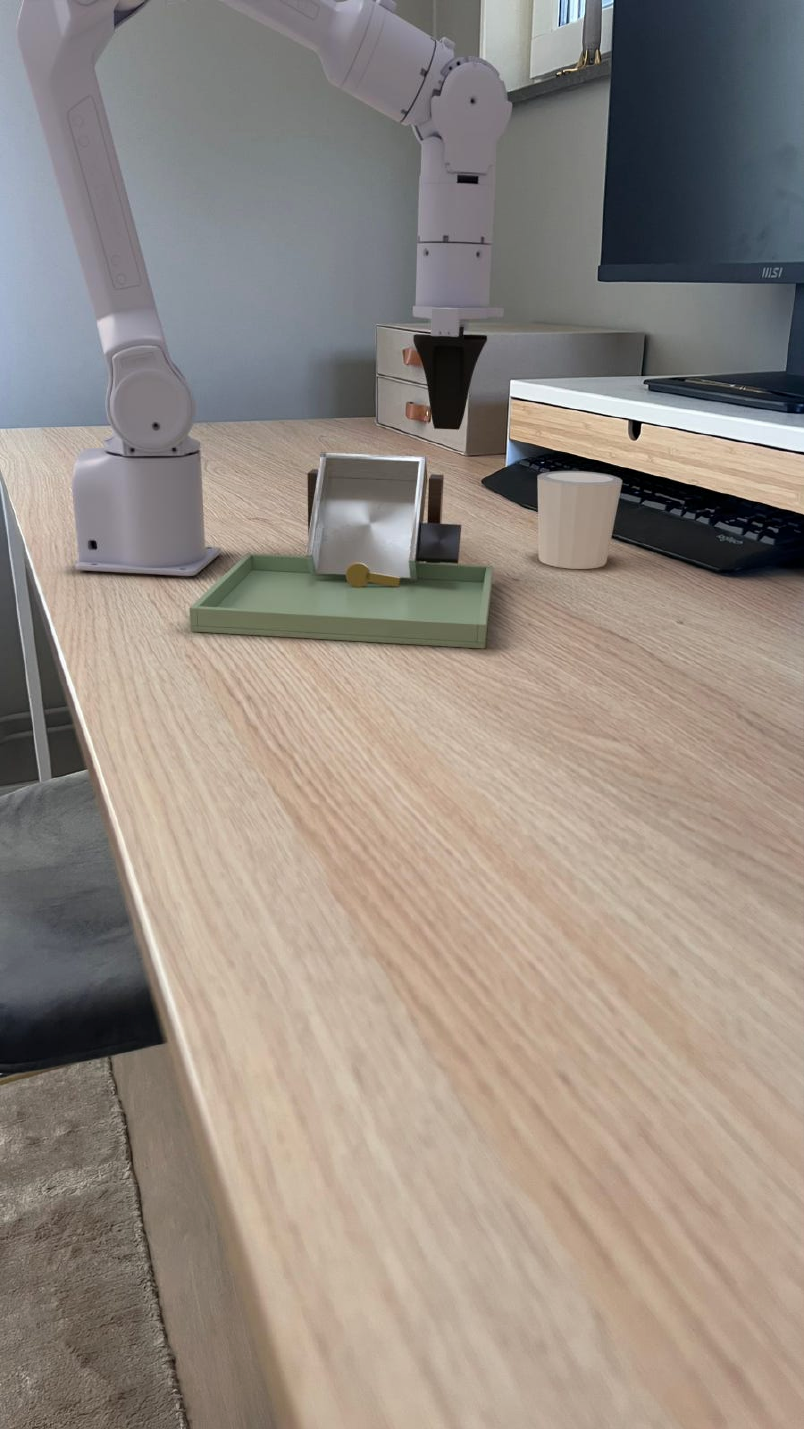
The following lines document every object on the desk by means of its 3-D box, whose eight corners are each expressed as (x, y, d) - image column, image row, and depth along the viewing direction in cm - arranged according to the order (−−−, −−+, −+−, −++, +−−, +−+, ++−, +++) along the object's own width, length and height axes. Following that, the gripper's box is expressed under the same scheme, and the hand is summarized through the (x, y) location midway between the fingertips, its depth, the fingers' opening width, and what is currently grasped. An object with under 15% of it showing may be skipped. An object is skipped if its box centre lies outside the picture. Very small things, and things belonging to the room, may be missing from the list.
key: (343, 583, 76) (344, 585, 76) (348, 560, 76) (348, 561, 75) (396, 593, 77) (397, 594, 76) (401, 569, 76) (402, 571, 76)
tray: (190, 631, 67) (189, 607, 66) (247, 573, 80) (246, 553, 80) (484, 648, 65) (486, 624, 64) (491, 586, 79) (492, 565, 78)
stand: (308, 568, 82) (307, 473, 79) (312, 562, 84) (312, 468, 81) (437, 575, 81) (441, 479, 79) (439, 568, 83) (443, 474, 80)
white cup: (613, 573, 83) (622, 486, 80) (527, 567, 84) (534, 480, 82) (614, 554, 89) (622, 472, 87) (534, 548, 91) (540, 467, 88)
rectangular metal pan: (311, 575, 77) (305, 555, 75) (326, 471, 81) (321, 447, 78) (457, 583, 76) (457, 563, 74) (466, 477, 80) (466, 453, 77)
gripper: (505, 241, 72) (494, 442, 77) (508, 249, 85) (498, 419, 90) (404, 239, 72) (399, 438, 77) (423, 247, 86) (418, 416, 91)
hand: (447, 428), depth 84 cm, fingers closed
